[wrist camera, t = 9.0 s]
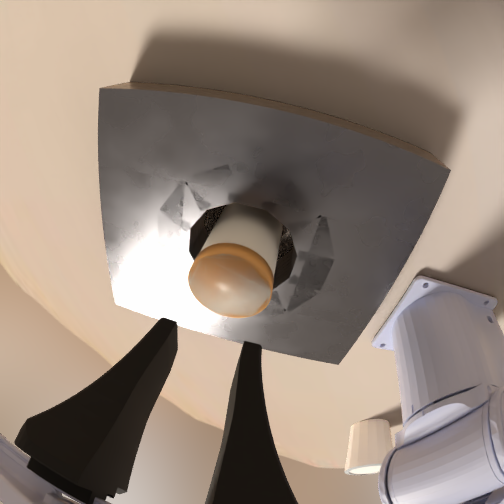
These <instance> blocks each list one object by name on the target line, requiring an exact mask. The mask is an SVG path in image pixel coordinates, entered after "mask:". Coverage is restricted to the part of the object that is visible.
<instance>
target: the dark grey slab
mask: <svg viewBox="0 0 504 504" xmlns="http://www.w3.org/2000/svg"><path fill="white" fill-rule="evenodd" d="M98 161H99V184H100V199H101V211H102V221H103V230H104V239H105V247H106V254H107V261H108V267H109V273H110V279H111V285H112V291H113V296H114V301H115V304H116V305H119V306H122V307H125V308H127V309H130V310H133V311H136V312H139V313H142V314H145V315H148V316H150V317H153V318H156V319H160V318H162V317H165V318H168V319H171V320H174V321H177V325H178V326H181V327H185V328H188V329H191V330H195V331H198V332H201V333H205V334H208V335H212V336H215V337H219V338H223V339H226V340H230V341H234V342H238V343H241V344H243V343H244V341H248V342H252V343H256V344H260V345H261V346H262V349H266V350H270V351H274V352H278V353H283V354H287V355H292V356H297V357H301V358H306V359H311V360H316V361H321V362H326V363H332V364H337V365H339V363H340V362H341V361H342V359H343V358H344V357H345V355H346V354H347V353H348V351H349V350H350V349H351V347H352V346H353V344H354V343H355V342H356V340H357V339H358V337H359V336H360V335H361V333H362V332H363V330H364V329H365V327H366V326H367V324H368V323H369V321H370V320H371V318H372V317H373V315H374V314H375V312H376V311H377V309H378V308H379V306H380V305H381V303H382V301H383V300H384V298H385V297H386V295H387V293H388V292H389V290H390V289H391V287H392V285H393V284H394V282H395V280H396V279H397V277H398V275H399V273H400V272H401V270H402V268H403V267H404V265H405V263H406V261H407V259H408V258H409V256H410V254H411V252H412V250H413V249H414V247H415V245H416V243H417V241H418V239H419V237H420V235H421V233H422V231H423V230H424V228H425V226H426V224H427V222H428V220H429V218H430V215H431V213H432V211H433V209H434V207H435V205H436V203H437V201H438V199H439V196H440V194H441V192H442V190H443V187H444V185H445V183H446V181H447V178H448V176H449V173H450V171H451V170H450V169H449V168H448V167H447V166H445V165H444V164H443V163H442V162H441V161H440V160H438V159H437V158H436V157H435V156H434V155H432V154H431V153H430V152H428V151H425V150H423V149H421V148H419V147H416V146H414V145H412V144H409V143H407V142H404V141H402V140H399V139H397V138H394V137H392V136H389V135H387V134H384V133H381V132H379V131H376V130H373V129H370V128H368V127H365V126H362V125H359V124H356V123H353V122H350V121H347V120H344V119H340V118H337V117H334V116H331V115H327V114H324V113H320V112H317V111H313V110H309V109H306V108H302V107H298V106H294V105H290V104H286V103H282V102H277V101H273V100H268V99H264V98H259V97H254V96H248V95H243V94H238V93H232V92H226V91H219V90H212V89H205V88H197V87H189V86H180V85H169V84H156V83H140V82H127V83H122V84H117V85H112V86H107V87H103V88H100V91H99V112H98ZM231 203H240V204H244V205H248V206H252V207H256V208H260V209H264V210H267V211H268V212H269V213H270V214H271V215H272V216H274V217H275V218H276V219H277V220H278V221H279V222H280V223H281V224H283V225H284V226H285V227H286V228H287V229H288V230H289V231H290V234H291V237H292V240H293V243H294V247H293V249H292V250H290V251H289V252H288V253H286V254H285V255H284V256H283V257H281V258H280V259H279V260H278V261H277V263H276V268H275V274H274V284H273V290H272V295H271V299H270V302H269V304H268V305H267V307H266V308H265V309H264V310H262V311H261V312H260V313H258V314H256V315H253V316H250V317H245V318H231V317H226V316H222V315H219V314H216V313H214V312H212V311H210V310H208V309H207V308H205V307H204V306H203V305H202V304H200V303H199V302H198V301H197V299H196V298H195V297H194V296H193V294H192V292H191V290H190V288H189V285H188V273H189V270H190V268H191V266H192V264H193V262H194V260H195V258H196V257H197V255H198V254H199V253H200V251H201V249H202V248H203V246H204V244H205V242H206V240H207V238H208V237H209V235H208V233H207V231H206V229H205V227H204V222H205V213H206V210H208V209H211V208H215V207H219V206H223V205H227V204H231Z"/></svg>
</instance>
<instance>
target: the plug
mask: <svg viewBox="0 0 504 504" xmlns="http://www.w3.org/2000/svg"><path fill="white" fill-rule="evenodd" d="M281 234H282V224H281V223H280V222H279V221H278V220H277V219H276V218H275V217H274V216H272V215H271V214H270V213H269V212H268V211H267V210H264V209H260V208H256V207H252V206H248V205H244V204H240V203H231V204H228V205H227V206H226V207H225V208H224V210H223V211H222V213H221V215H220V217H219V218H218V220H217V222H216V224H215V226H214V227H213V229H212V231H211V233H210V235H209V237H208V238H207V240H206V242H205V244H204V246H203V248H202V249H201V251H200V253H199V254H198V255H197V257H196V258H195V260H194V262H193V264H192V266H191V268H190V270H189V273H188V285H189V288H190V290H191V292H192V294H193V296H194V297H195V298H196V299H197V301H198V302H199V303H200V304H202V305H203V306H204V307H205V308H207V309H208V310H210V311H212V312H214V313H216V314H219V315H222V316H226V317H231V318H245V317H250V316H253V315H256V314H258V313H260V312H261V311H262V310H264V309H265V308H266V307H267V305H268V304H269V302H270V299H271V295H272V290H273V284H274V274H275V268H276V263H277V257H278V251H279V246H280V240H281Z"/></svg>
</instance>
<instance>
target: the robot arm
mask: <svg viewBox="0 0 504 504" xmlns="http://www.w3.org/2000/svg"><path fill="white" fill-rule="evenodd" d="M424 283H427V284H425V285H423V284H424ZM497 303H498V301H497V299H496V298H495V297H491V296H488V295H485V294H482V293H479V292H475V291H472V290H469V289H466V288H462V287H459V286H456V285H452V284H449V283H446V282H442V281H439V280H436V279H432V278H429V277H425V276H421V275H420V276H417V277H416V278H415V279H414V280H413V282H412V283H411V285H410V286H409V288H408V290H407V291H406V293H405V294H404V296H403V297H402V299H401V300H400V302H399V303H398V305H397V306H396V308H395V309H394V311H393V312H392V314H391V315H390V316H389V318H388V319H387V321H386V322H385V324H384V325H383V326H382V328H381V329H380V330H379V332H378V333H377V335H376V336H375V337H374V339H373V340H372V346H373V347H375V348H380V349H386V350H392V351H394V354H395V361H396V367H397V375H398V382H399V390H400V399H401V409H402V420H403V429H402V430H401V431H399V432H397V433H396V434H395V444H396V446H395V447H394V448H392V449H391V450H390V451H389V452H388V453H387V455H386V456H385V458H384V460H383V462H382V465H381V468H380V472H379V480H378V487H379V488H378V489H379V495H380V498H381V501H382V503H383V504H504V335H503V333H502V330H501V328H500V326H499V323H498V321H497V319H496V317H495V315H494V313H493V311H492V310H493V309H494V308H495V307H496V305H497ZM177 350H178V343H177V321H174V320H171V319H168V318H165V317H162V318H160V319H159V321H158V322H157V323H156V324H155V325H154V326H153V328H152V329H151V330H150V331H149V332H148V333H147V334H146V335H145V336H144V337H143V338H142V339H141V341H140V342H139V343H138V344H137V345H136V346H135V347H134V348H133V349H132V350H131V351H130V352H129V353H127V354H126V355H125V356H124V357H123V358H122V359H121V360H120V361H119V362H118V363H116V364H115V365H114V366H113V367H112V368H111V369H110V370H109V371H107V372H106V373H105V374H104V375H102V376H101V377H100V378H99V379H97V380H96V381H95V382H93V383H92V384H91V385H89V386H88V387H86V388H85V389H83V390H82V391H80V392H79V393H77V394H76V395H74V396H72V397H71V398H69V399H67V400H65V401H64V402H62V403H60V404H58V405H56V406H55V407H53V408H51V409H49V410H46V411H44V412H42V413H40V414H37V415H35V416H33V417H30V418H28V419H27V420H26V422H25V423H24V425H23V426H22V428H21V429H20V432H19V434H18V436H17V437H16V439H15V445H16V446H17V447H19V448H20V449H21V450H23V451H24V452H25V453H27V454H28V455H29V456H31V458H30V457H29V456H28V455H26V454H25V453H23V452H22V451H21V450H19V449H18V448H17V447H15V446H14V445H13V444H11V443H10V442H9V441H8V440H7V439H6V437H4V436H3V435H2V434H1V433H0V500H1V502H3V504H80V503H81V504H111V503H109V502H107V501H105V500H106V497H107V496H109V497H111V498H114V497H115V494H116V493H118V494H122V493H125V492H127V489H128V484H129V480H130V476H131V472H132V468H133V465H134V461H135V457H136V454H137V451H138V447H139V444H140V441H141V438H142V435H143V432H144V429H145V426H146V423H147V420H148V418H149V415H150V413H151V411H152V409H153V407H154V404H155V402H156V400H157V398H158V396H159V394H160V392H161V390H162V388H163V386H164V384H165V381H166V379H167V377H168V375H169V373H170V371H171V368H172V365H173V362H174V359H175V356H176V353H177ZM261 352H262V346H261V345H260V344H256V343H252V342H248V341H244V343H243V347H242V350H241V354H240V357H239V360H238V364H237V367H236V371H235V375H234V379H233V382H232V386H231V390H230V396H229V403H228V409H227V415H226V421H225V428H224V434H223V439H222V444H221V448H220V452H219V456H218V460H217V463H216V467H215V470H214V474H213V477H212V481H211V484H210V488H209V492H208V495H207V499H206V502H205V504H298V502H297V501H296V498H295V497H294V494H293V492H292V490H291V488H290V486H289V483H288V481H287V478H286V476H285V473H284V471H283V468H282V465H281V463H280V460H279V457H278V454H277V451H276V448H275V444H274V441H273V437H272V433H271V429H270V425H269V421H268V416H267V411H266V405H265V398H264V391H263V383H262V369H261ZM62 493H63V494H65V495H66V496H68V497H70V498H72V499H74V500H75V501H77V502H75V501H73V500H71V499H68V498H66V497H63V496H62ZM78 502H79V503H78Z"/></svg>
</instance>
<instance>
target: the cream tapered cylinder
mask: <svg viewBox="0 0 504 504" xmlns="http://www.w3.org/2000/svg"><path fill="white" fill-rule="evenodd" d="M392 448H393V445H392V437H391V431H390V424H389V422H388V421H387V420H384V419H368V420H364V421H360V422H357V423H355V424H353V425H352V426H351V430H350V438H349V445H348V452H347V459H346V465H345V473H346V474H350V475H369V474H376V473H379V472H380V468H381V465H382V462H383V460H384V458H385V456H386V455H387V453H388V452H389V451H390V450H391V449H392Z"/></svg>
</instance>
